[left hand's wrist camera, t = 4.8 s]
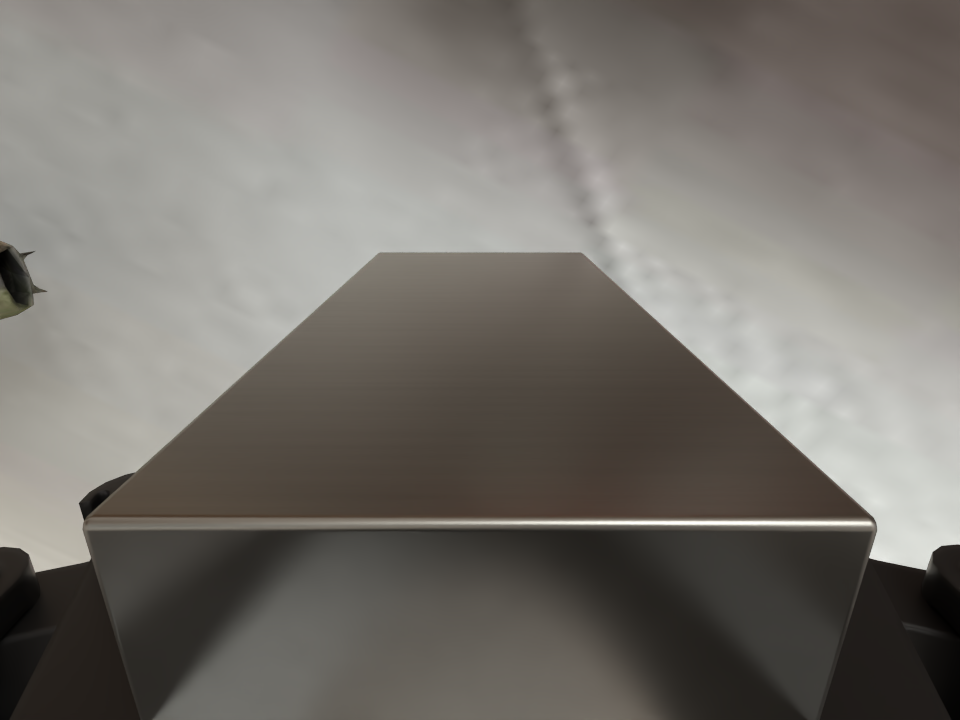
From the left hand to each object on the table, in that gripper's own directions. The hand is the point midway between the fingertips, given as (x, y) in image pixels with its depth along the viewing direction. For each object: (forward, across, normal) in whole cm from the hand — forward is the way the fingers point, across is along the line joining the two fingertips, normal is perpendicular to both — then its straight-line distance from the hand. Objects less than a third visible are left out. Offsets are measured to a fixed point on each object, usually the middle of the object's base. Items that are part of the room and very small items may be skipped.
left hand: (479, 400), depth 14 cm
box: (+3, 0, -7) cm, 8 cm away
